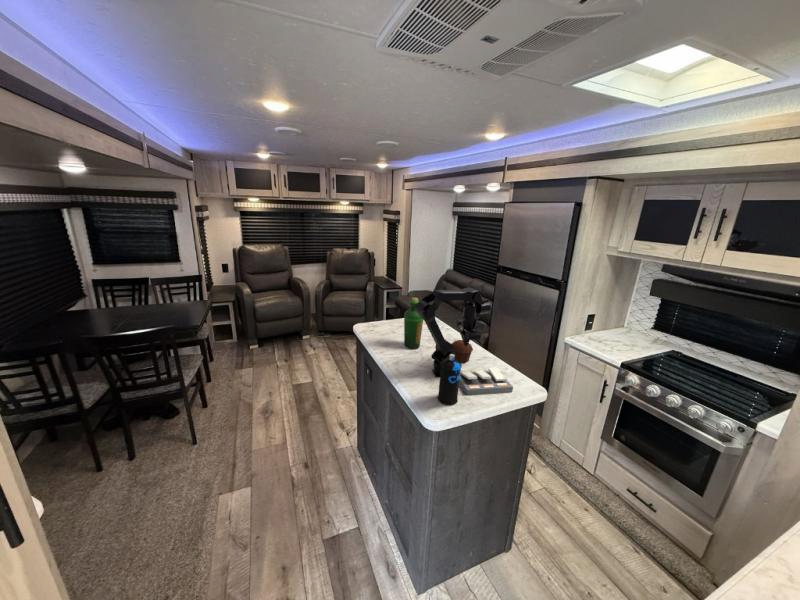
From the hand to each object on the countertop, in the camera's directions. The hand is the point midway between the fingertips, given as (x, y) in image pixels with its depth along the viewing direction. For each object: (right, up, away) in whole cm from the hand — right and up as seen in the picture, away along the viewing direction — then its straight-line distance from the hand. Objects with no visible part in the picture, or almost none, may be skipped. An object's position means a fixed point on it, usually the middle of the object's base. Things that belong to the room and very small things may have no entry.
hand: (465, 345), depth 148 cm
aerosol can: (-12, -19, -22) cm, 31 cm away
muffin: (0, -9, +12) cm, 15 cm away
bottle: (-25, -4, +24) cm, 35 cm away
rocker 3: (+12, -12, -9) cm, 19 cm away
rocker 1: (-1, -12, -11) cm, 16 cm away
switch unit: (+5, -16, -10) cm, 20 cm away
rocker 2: (+5, -12, -10) cm, 17 cm away
